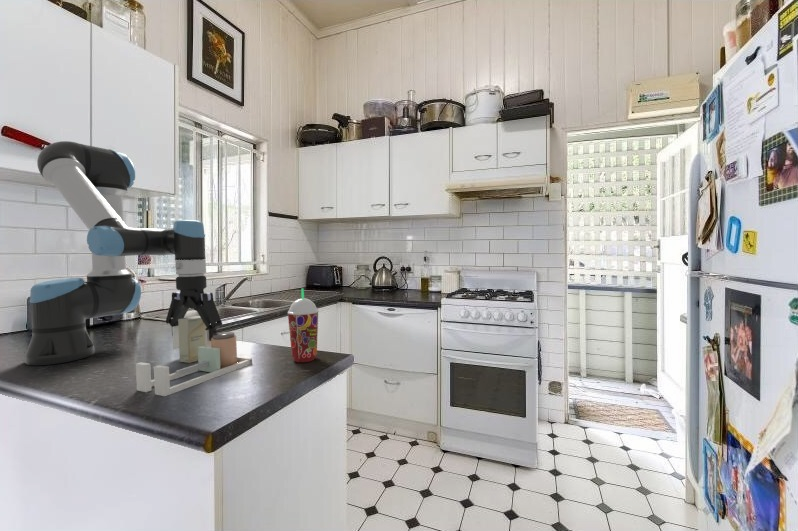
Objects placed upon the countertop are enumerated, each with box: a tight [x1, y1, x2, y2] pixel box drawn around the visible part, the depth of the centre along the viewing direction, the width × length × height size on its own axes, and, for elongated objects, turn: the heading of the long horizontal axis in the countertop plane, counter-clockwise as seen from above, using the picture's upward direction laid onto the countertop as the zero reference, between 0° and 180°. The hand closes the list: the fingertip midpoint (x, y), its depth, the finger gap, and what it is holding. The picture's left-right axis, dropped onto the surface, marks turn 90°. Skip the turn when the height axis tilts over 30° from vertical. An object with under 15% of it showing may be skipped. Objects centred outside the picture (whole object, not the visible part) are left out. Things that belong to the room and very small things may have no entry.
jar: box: [211, 331, 238, 369], centre depth 97 cm, size 6×6×9 cm
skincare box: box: [178, 315, 207, 364], centre depth 105 cm, size 6×4×12 cm
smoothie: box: [287, 288, 319, 363], centre depth 102 cm, size 8×8×20 cm
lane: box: [135, 355, 253, 397], centre depth 91 cm, size 10×24×6 cm, turn 156°
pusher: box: [175, 346, 220, 375], centre depth 89 cm, size 7×9×6 cm
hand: (194, 350), depth 105 cm, fingers open, 13 cm apart
